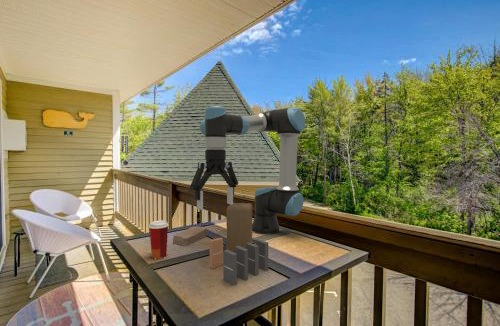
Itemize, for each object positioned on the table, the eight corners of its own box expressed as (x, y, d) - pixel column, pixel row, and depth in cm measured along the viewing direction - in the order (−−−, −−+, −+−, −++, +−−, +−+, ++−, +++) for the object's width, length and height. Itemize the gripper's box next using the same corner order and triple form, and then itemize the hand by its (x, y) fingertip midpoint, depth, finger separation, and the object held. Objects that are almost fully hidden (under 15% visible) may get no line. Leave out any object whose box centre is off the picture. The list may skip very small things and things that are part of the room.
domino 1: (227, 278, 88) (227, 249, 87) (236, 283, 84) (236, 253, 84) (223, 280, 87) (223, 250, 86) (232, 285, 83) (232, 255, 83)
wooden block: (252, 247, 117) (252, 202, 116) (250, 256, 107) (250, 207, 106) (230, 246, 118) (230, 202, 117) (226, 255, 108) (226, 207, 107)
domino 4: (258, 265, 98) (258, 239, 98) (268, 269, 95) (268, 242, 94) (255, 266, 97) (255, 240, 97) (265, 271, 93) (265, 243, 93)
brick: (186, 247, 117) (186, 237, 117) (171, 244, 121) (171, 234, 121) (207, 236, 132) (207, 227, 132) (194, 234, 136) (194, 225, 136)
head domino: (209, 267, 97) (209, 240, 96) (220, 263, 100) (220, 237, 100) (212, 268, 95) (212, 241, 95) (223, 264, 99) (223, 238, 98)
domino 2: (238, 273, 91) (238, 245, 91) (248, 278, 88) (248, 249, 87) (234, 275, 90) (234, 246, 90) (244, 280, 87) (244, 250, 86)
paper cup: (167, 251, 111) (166, 219, 111) (170, 258, 105) (170, 223, 104) (147, 254, 108) (147, 221, 107) (149, 261, 101) (149, 226, 100)
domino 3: (248, 269, 95) (248, 242, 94) (258, 274, 91) (258, 245, 91) (245, 270, 94) (245, 243, 93) (255, 275, 90) (255, 247, 90)
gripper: (235, 149, 107) (235, 200, 108) (179, 148, 90) (180, 209, 91) (247, 149, 102) (247, 203, 103) (190, 148, 85) (191, 213, 85)
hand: (215, 206), depth 97 cm, fingers open, 13 cm apart
